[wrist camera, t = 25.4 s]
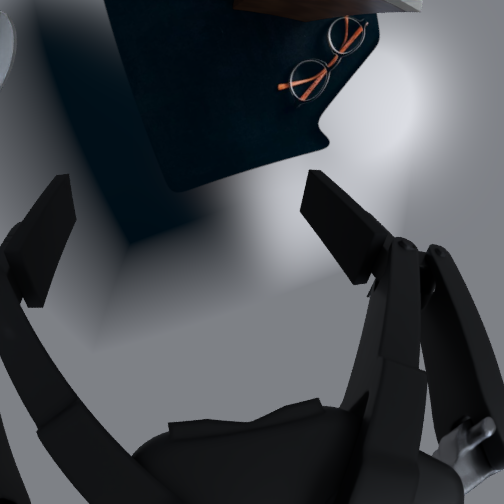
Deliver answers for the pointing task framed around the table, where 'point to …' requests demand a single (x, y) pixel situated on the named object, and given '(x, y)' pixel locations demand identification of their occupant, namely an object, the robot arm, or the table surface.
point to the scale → (407, 5)
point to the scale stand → (315, 8)
